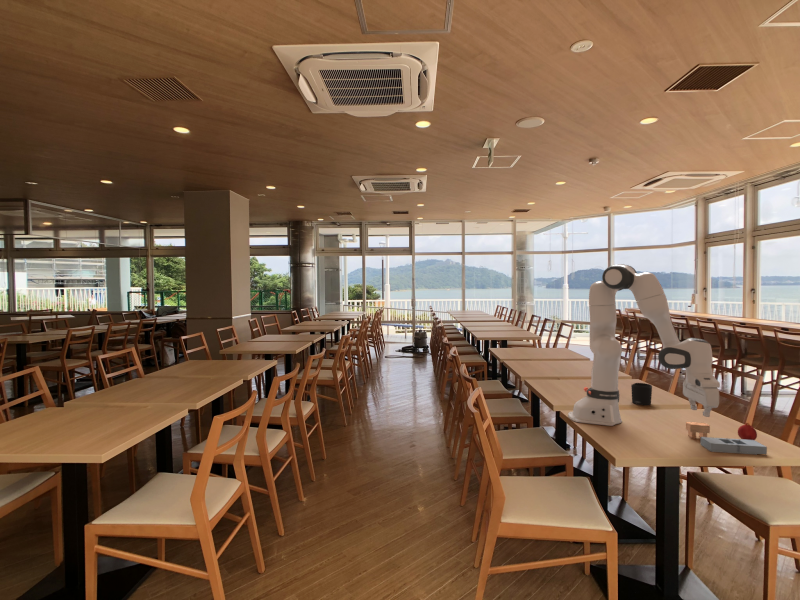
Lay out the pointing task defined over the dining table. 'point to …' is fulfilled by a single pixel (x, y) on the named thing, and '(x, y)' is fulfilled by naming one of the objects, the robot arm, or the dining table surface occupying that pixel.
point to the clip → (697, 429)
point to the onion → (747, 432)
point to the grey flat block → (733, 445)
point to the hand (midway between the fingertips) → (699, 413)
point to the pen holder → (641, 393)
